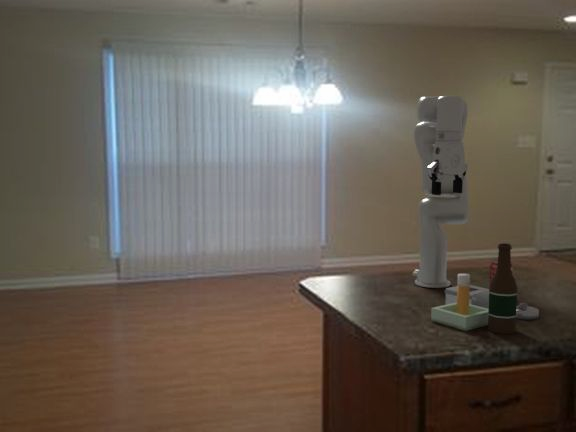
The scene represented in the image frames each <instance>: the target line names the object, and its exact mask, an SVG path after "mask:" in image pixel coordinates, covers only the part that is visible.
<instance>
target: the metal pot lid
mask: <svg viewBox="0 0 576 432" xmlns="http://www.w3.org/2000/svg"><path fill="white" fill-rule="evenodd" d="M539 315H540V310H539V309H538V308H537V307H534V306H530V305H528V303H526V302H519V303H518V305H517V310H516V320H527V321H532V320H536V319H537V320H538V319H539Z"/></svg>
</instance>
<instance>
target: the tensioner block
mask: <svg viewBox="0 0 576 432" xmlns="http://www.w3.org/2000/svg"><path fill="white" fill-rule="evenodd" d="M444 294H445V302H444V303H445V304H444V305H447V304H451V303H456V302H457V285H455V286H452V287H451V286H449V287H445V290H444ZM469 304H471V305H475V306H479V307H483V308H487V309H489V288H485V287H481V286H477V285H473V284H470V291H469Z"/></svg>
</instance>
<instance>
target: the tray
mask: <svg viewBox="0 0 576 432" xmlns="http://www.w3.org/2000/svg"><path fill="white" fill-rule="evenodd" d="M488 311H489V309H487V308H483V307H479V306H475V305H471V304H469V315H462V314H458V313H457V302H456V303H451V304H447V305H445V304H444V305H439V306H434V307H431V312H430V315H431V316H430V317H431V318H430V321H431V322H435V323H438V324H441V325H444V326H448V327H450V328H454V329H458V330H461V331H464V332H467V331H471V330H475V329H478V328H482V327H485V326H488Z"/></svg>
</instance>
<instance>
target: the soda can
mask: <svg viewBox="0 0 576 432" xmlns="http://www.w3.org/2000/svg"><path fill="white" fill-rule="evenodd" d="M512 263H513V262H512V261H511V273H512V275H513V276H514V265H513V264H512ZM497 264H498V259H493V260H491V263H490V266H489V283H490V282H491V279H492V277H493V276H494V274H495V273H496V270H497Z"/></svg>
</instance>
